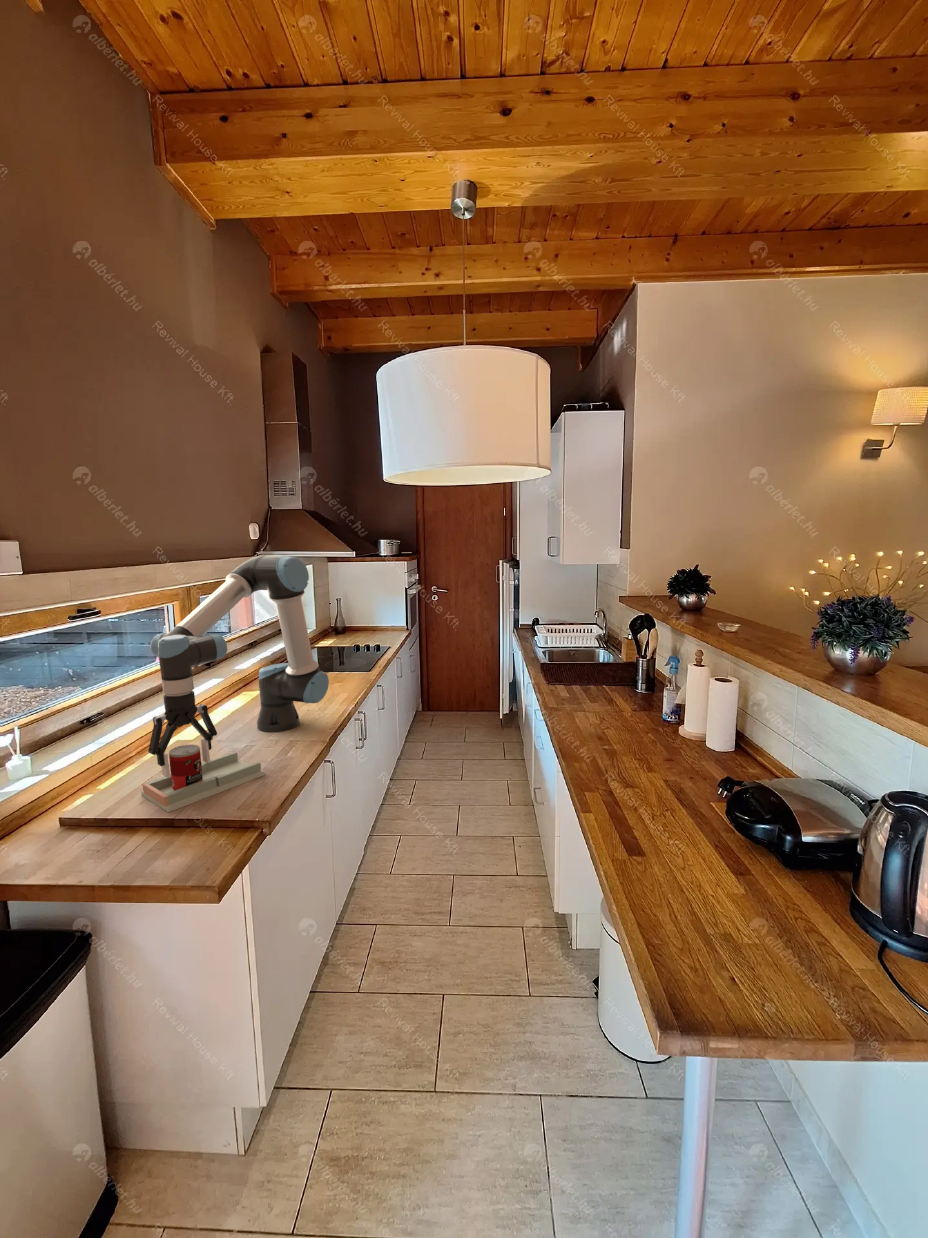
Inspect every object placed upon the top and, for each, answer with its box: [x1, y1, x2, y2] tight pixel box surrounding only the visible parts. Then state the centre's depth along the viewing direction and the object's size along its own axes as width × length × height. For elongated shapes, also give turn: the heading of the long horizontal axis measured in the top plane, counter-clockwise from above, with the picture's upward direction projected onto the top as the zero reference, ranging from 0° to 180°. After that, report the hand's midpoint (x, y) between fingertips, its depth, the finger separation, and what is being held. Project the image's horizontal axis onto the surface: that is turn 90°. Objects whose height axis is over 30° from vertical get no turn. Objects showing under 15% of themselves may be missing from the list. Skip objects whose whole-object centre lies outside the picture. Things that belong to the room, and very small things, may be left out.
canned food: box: [168, 744, 203, 791], centre depth 154 cm, size 8×8×11 cm
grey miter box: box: [140, 751, 266, 813], centre depth 158 cm, size 28×16×4 cm, turn 142°
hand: (187, 768), depth 154 cm, fingers open, 10 cm apart
